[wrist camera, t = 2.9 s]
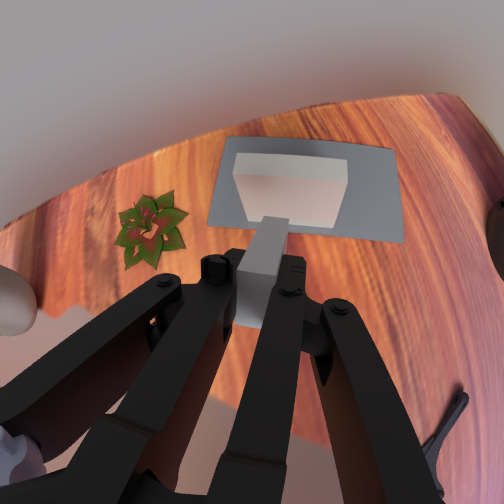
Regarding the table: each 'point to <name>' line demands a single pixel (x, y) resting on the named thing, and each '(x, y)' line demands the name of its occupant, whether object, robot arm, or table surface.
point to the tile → (291, 187)
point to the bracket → (444, 434)
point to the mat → (354, 200)
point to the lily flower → (142, 214)
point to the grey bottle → (16, 303)
